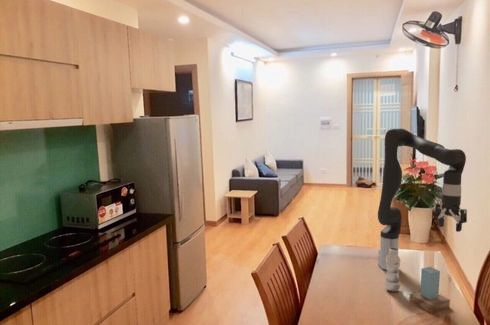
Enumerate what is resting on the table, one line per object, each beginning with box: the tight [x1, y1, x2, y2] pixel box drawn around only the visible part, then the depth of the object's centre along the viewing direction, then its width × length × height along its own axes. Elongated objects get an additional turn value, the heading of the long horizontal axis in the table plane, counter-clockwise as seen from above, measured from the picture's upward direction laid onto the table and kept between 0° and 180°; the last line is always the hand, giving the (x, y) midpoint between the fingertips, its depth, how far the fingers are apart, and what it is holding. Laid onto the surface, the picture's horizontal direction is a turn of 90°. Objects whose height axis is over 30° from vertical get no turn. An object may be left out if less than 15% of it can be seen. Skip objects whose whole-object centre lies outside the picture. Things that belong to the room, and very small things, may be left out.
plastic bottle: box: [384, 248, 401, 293], centre depth 176 cm, size 6×7×20 cm
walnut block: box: [409, 291, 451, 314], centre depth 162 cm, size 11×11×4 cm
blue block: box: [419, 266, 441, 300], centre depth 162 cm, size 5×5×12 cm
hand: (449, 228), depth 171 cm, fingers open, 8 cm apart
